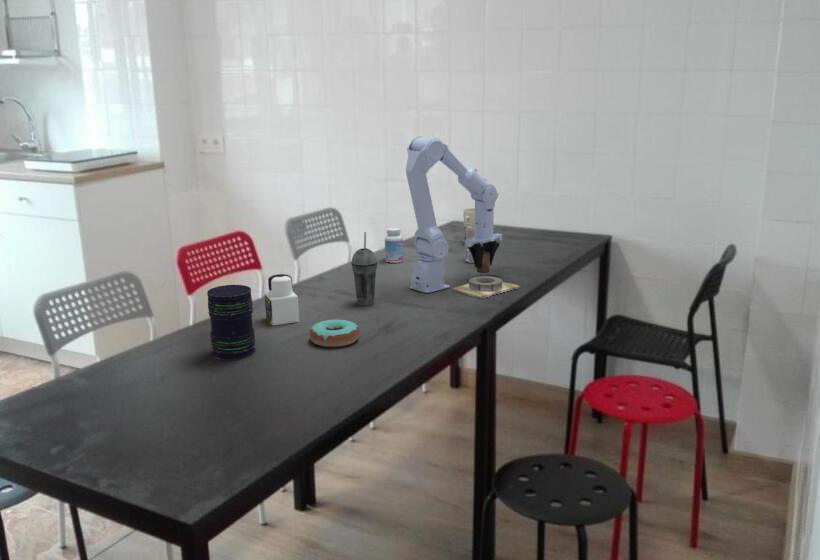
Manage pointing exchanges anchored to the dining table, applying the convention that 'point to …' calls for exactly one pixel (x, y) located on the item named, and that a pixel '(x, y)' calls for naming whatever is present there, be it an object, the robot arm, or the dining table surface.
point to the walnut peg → (485, 263)
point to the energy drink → (468, 235)
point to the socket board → (483, 294)
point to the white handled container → (281, 301)
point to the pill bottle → (393, 246)
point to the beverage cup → (364, 274)
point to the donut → (334, 333)
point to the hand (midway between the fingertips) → (483, 266)
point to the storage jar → (231, 322)
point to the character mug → (469, 217)
